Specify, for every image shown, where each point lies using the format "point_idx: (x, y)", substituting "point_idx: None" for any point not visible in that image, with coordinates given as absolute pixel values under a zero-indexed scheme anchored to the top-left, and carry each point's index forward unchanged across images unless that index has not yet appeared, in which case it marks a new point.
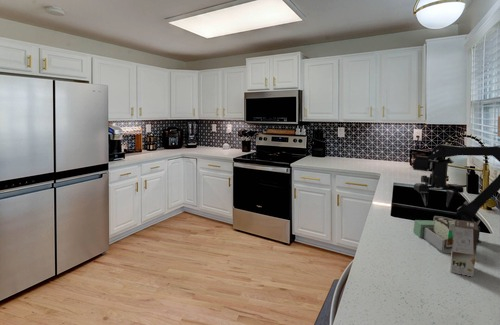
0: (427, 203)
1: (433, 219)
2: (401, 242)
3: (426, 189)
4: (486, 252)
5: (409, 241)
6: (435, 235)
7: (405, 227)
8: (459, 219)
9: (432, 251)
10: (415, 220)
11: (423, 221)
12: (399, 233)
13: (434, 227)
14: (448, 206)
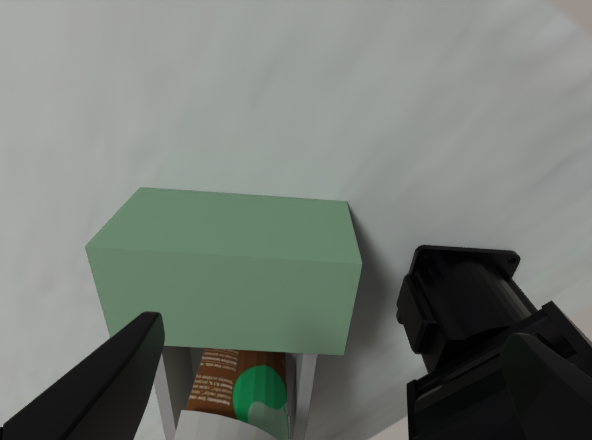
0: (141, 408)
1: (179, 419)
2: (28, 324)
3: None
4: (394, 399)
5: (76, 312)
6: (164, 428)
7: (104, 53)
8: (409, 428)
9: (156, 395)
10: (91, 258)
11: (161, 281)
12: (30, 200)
13: (200, 375)
14: (513, 372)
